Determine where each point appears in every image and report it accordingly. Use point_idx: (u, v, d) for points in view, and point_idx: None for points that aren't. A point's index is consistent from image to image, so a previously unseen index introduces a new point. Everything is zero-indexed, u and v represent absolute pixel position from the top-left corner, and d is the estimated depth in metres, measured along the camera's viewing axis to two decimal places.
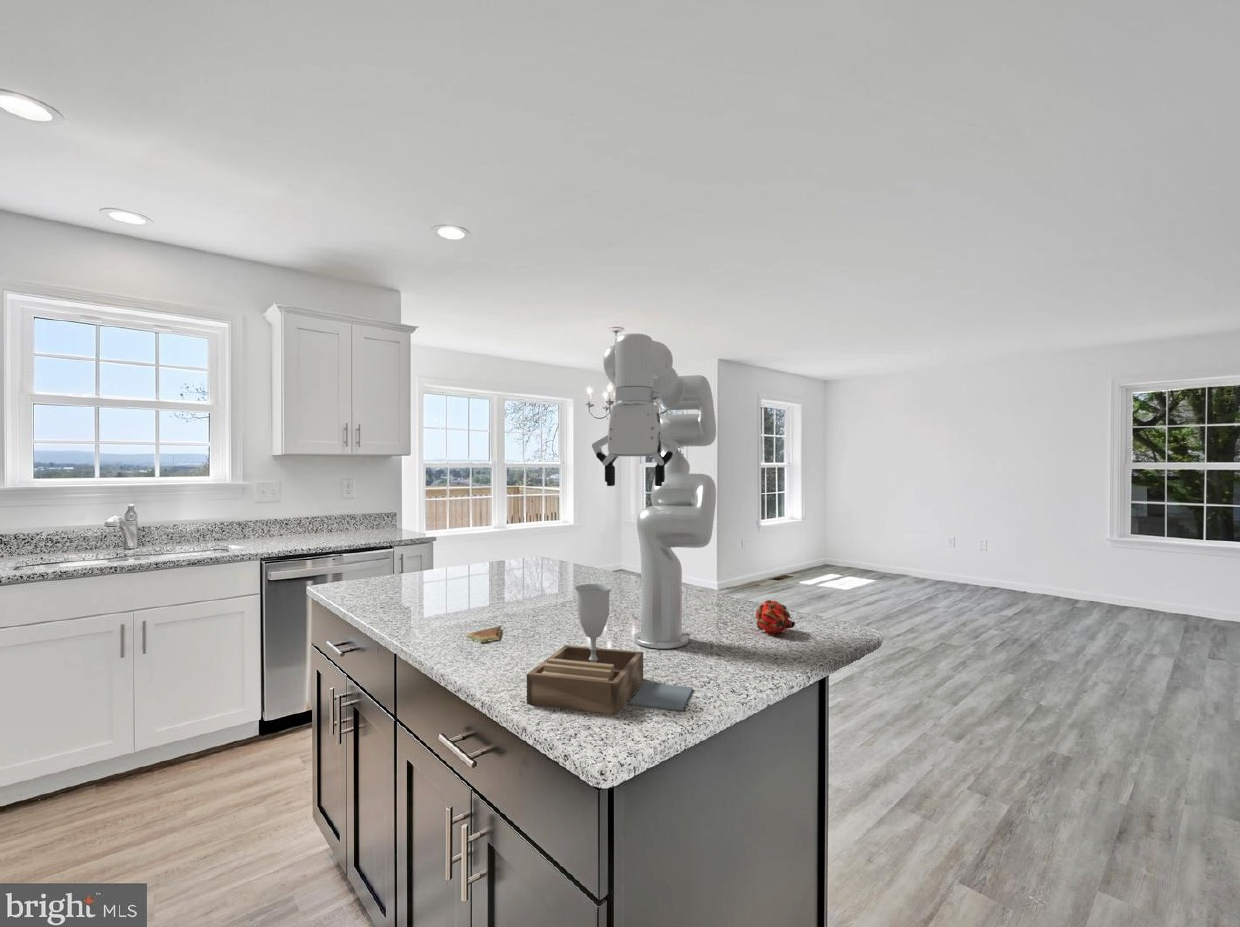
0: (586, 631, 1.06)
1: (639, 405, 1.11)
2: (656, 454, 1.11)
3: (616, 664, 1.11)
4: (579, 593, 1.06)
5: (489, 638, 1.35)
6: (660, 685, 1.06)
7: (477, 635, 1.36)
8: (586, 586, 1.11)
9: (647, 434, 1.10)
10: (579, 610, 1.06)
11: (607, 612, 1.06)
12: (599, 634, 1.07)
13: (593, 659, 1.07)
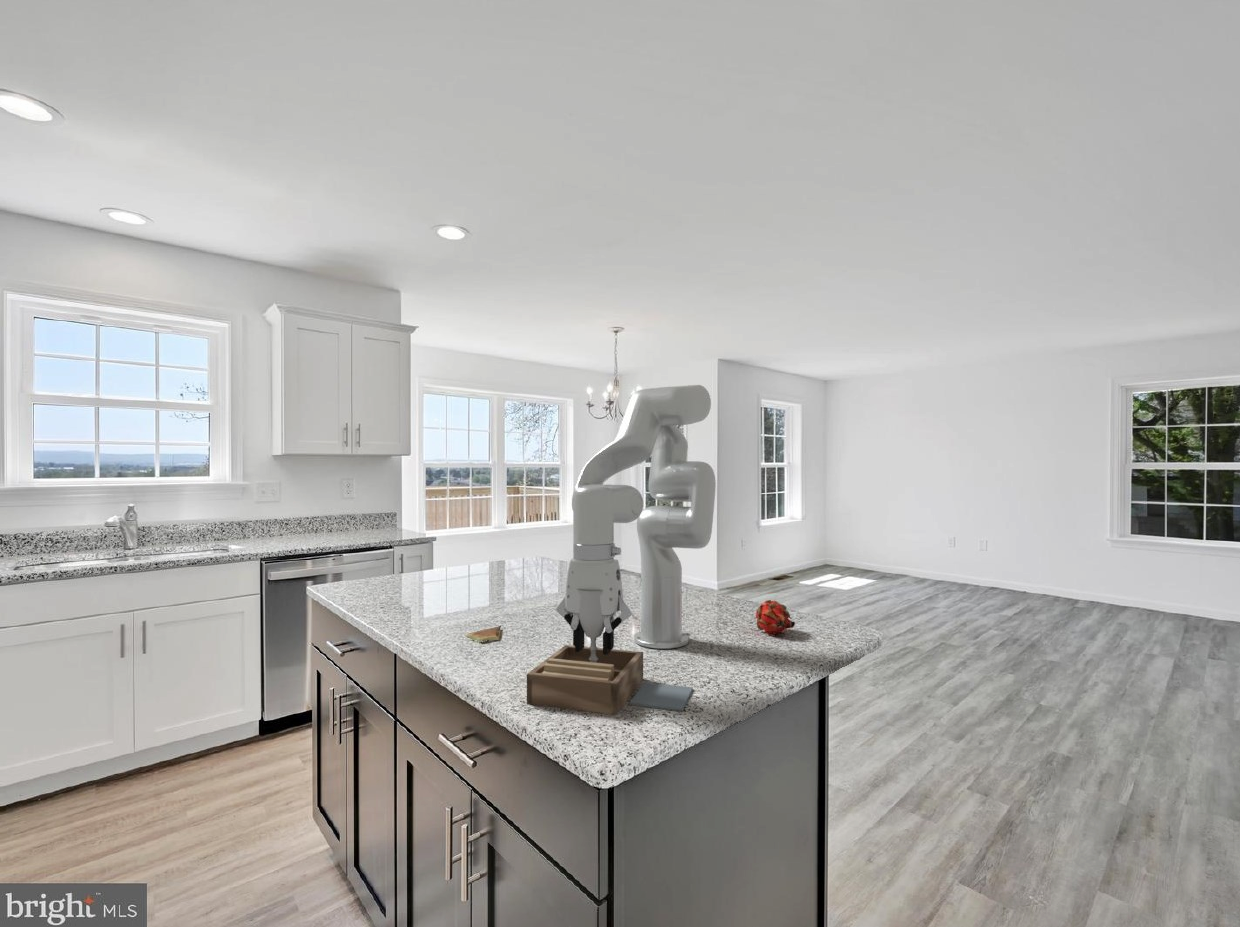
0: (586, 631, 1.06)
1: (597, 564, 1.05)
2: (608, 620, 1.05)
3: (616, 664, 1.11)
4: (579, 593, 1.06)
5: (489, 638, 1.35)
6: (660, 685, 1.06)
7: (477, 635, 1.36)
8: None
9: (605, 595, 1.05)
10: (579, 610, 1.06)
11: None
12: (599, 634, 1.07)
13: (593, 659, 1.07)
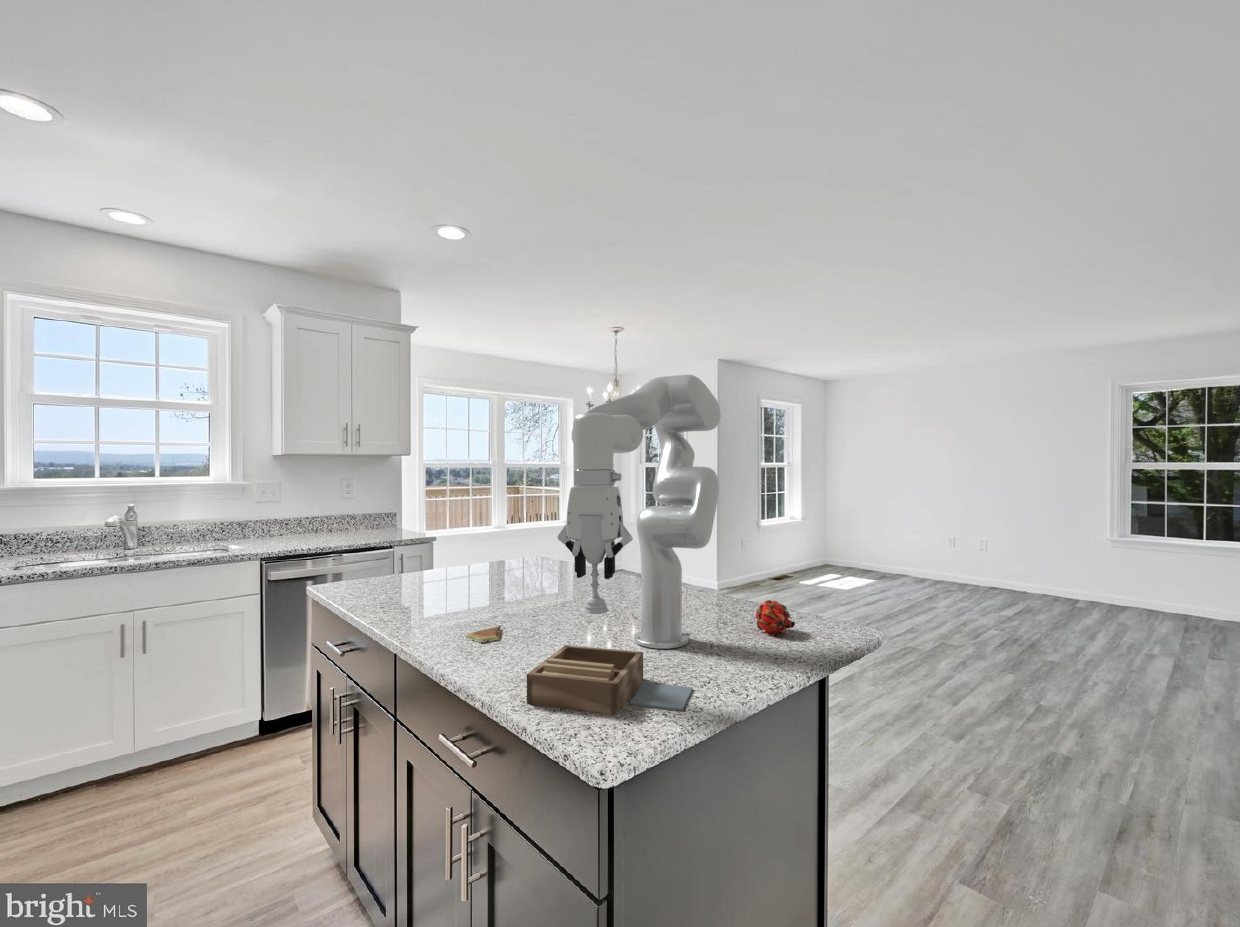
0: (587, 557, 1.07)
1: (598, 489, 1.06)
2: (609, 545, 1.06)
3: (616, 664, 1.11)
4: (580, 518, 1.06)
5: (489, 638, 1.35)
6: (660, 685, 1.06)
7: (477, 635, 1.36)
8: None
9: (606, 519, 1.05)
10: (580, 536, 1.07)
11: None
12: (600, 560, 1.07)
13: (595, 585, 1.08)
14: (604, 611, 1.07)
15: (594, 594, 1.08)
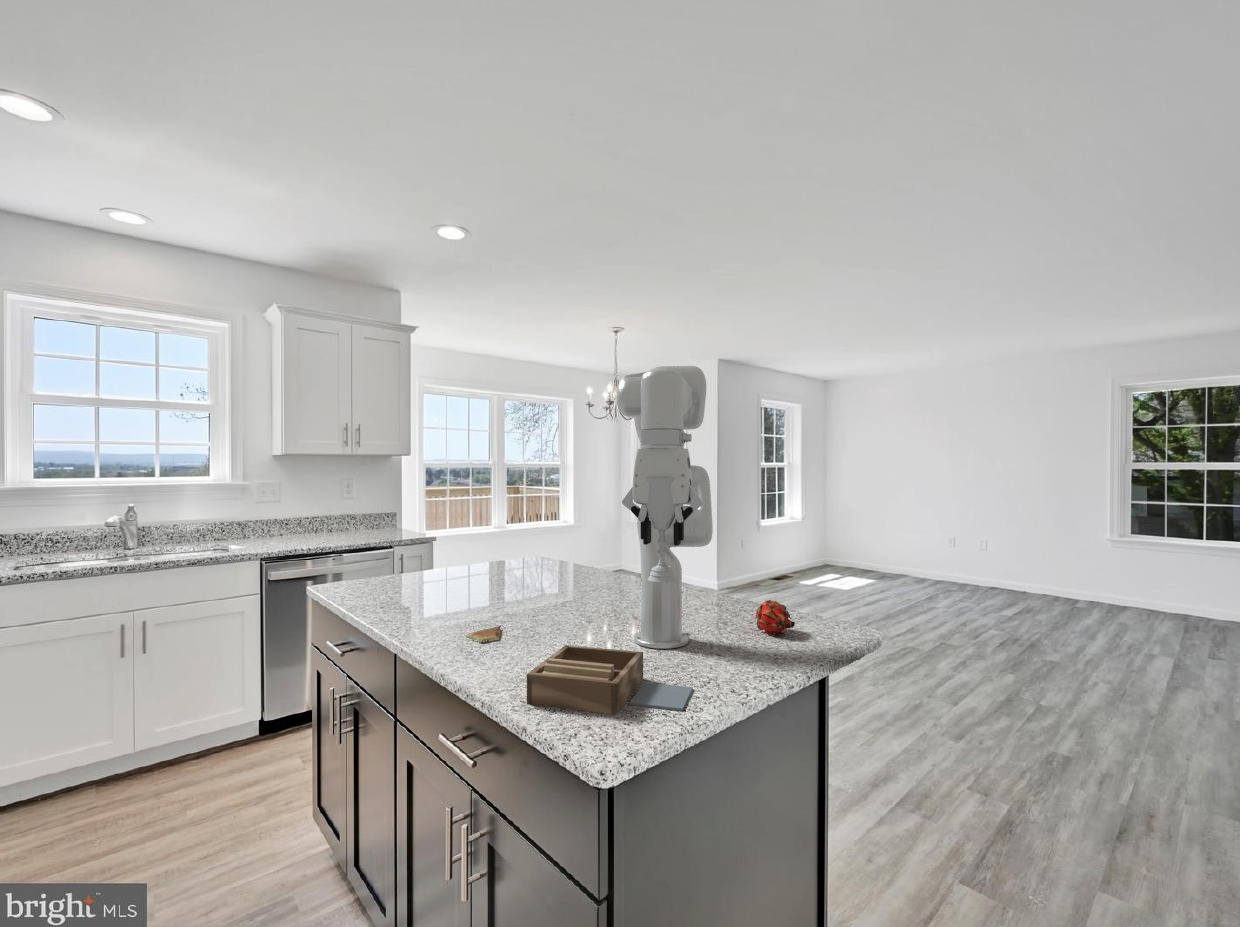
0: (655, 522, 1.01)
1: (668, 449, 1.00)
2: (679, 509, 1.00)
3: (616, 664, 1.11)
4: (649, 481, 1.00)
5: (489, 638, 1.35)
6: (660, 685, 1.06)
7: (477, 635, 1.36)
8: None
9: (677, 482, 0.99)
10: (648, 500, 1.01)
11: None
12: (669, 525, 1.01)
13: (662, 552, 1.01)
14: (672, 579, 1.01)
15: (661, 562, 1.02)
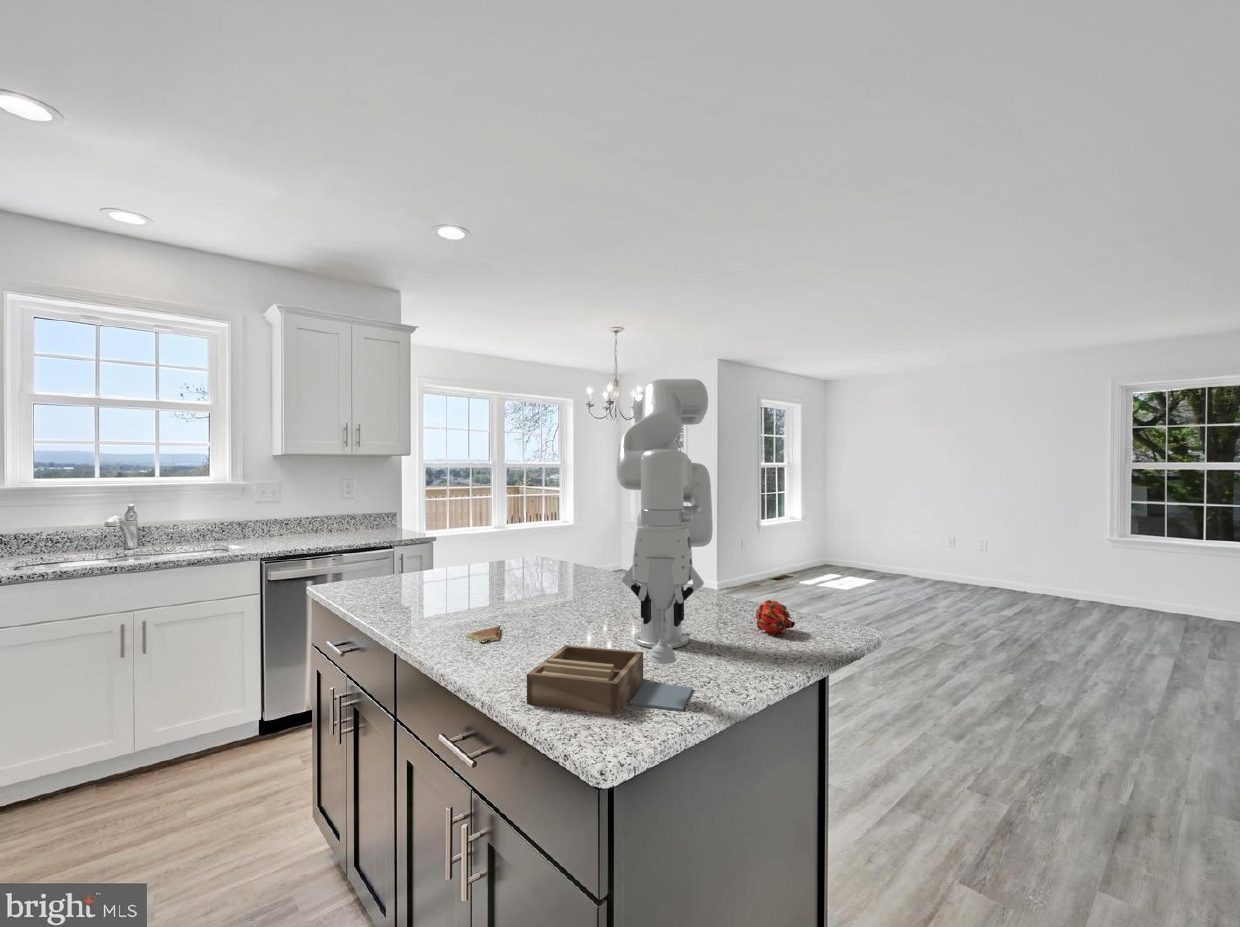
0: (655, 602, 1.00)
1: (668, 530, 0.99)
2: (679, 589, 1.00)
3: (616, 664, 1.11)
4: (649, 561, 1.00)
5: (488, 638, 1.35)
6: (660, 685, 1.06)
7: (477, 635, 1.36)
8: None
9: (677, 563, 0.99)
10: (648, 579, 1.01)
11: None
12: (669, 605, 1.01)
13: (662, 632, 1.01)
14: (673, 660, 1.00)
15: (661, 642, 1.01)
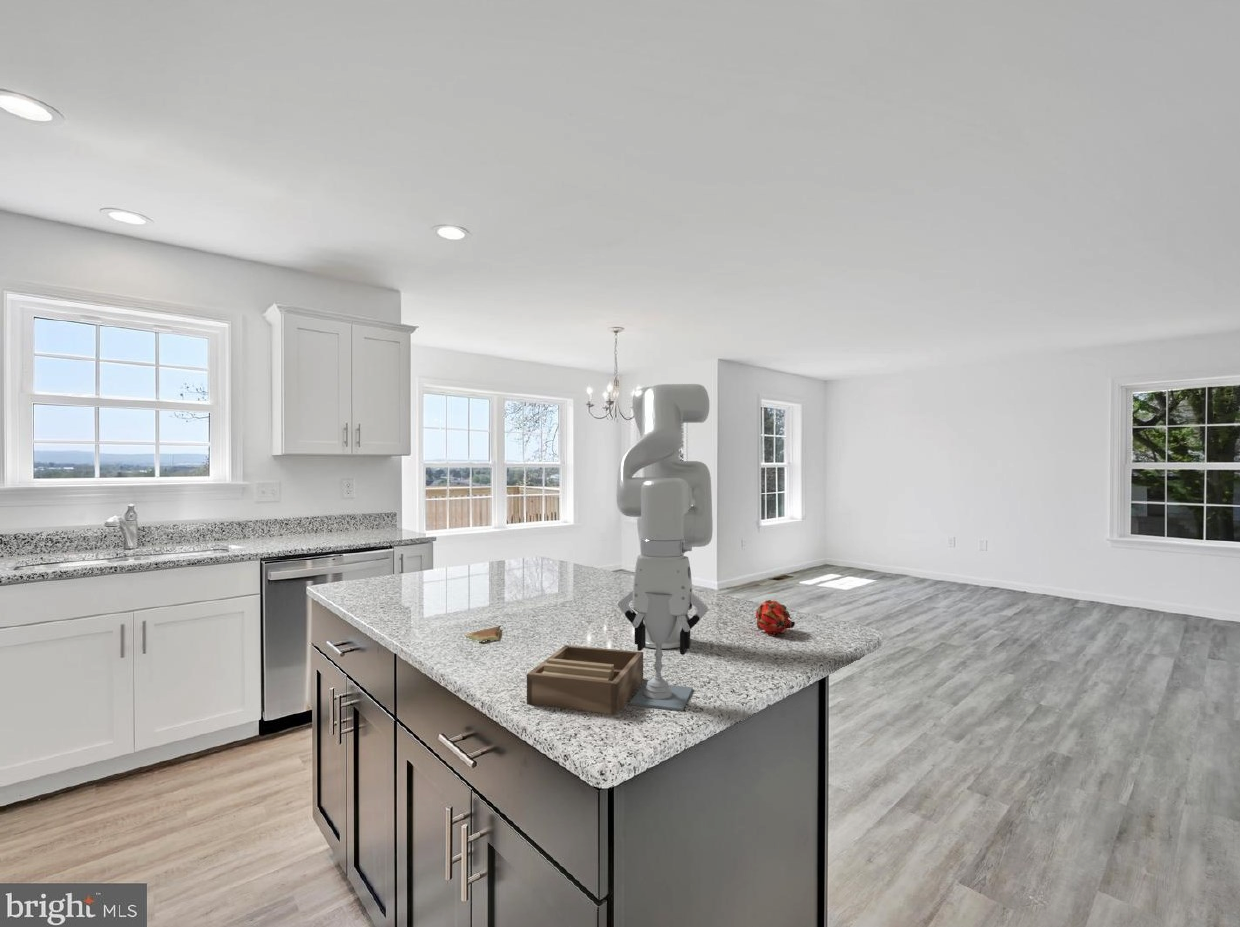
0: (653, 636, 1.01)
1: (668, 561, 0.99)
2: (683, 618, 1.00)
3: (616, 664, 1.11)
4: (647, 596, 1.00)
5: (488, 638, 1.35)
6: None
7: (476, 635, 1.36)
8: None
9: (677, 593, 0.99)
10: (646, 614, 1.01)
11: (675, 617, 1.01)
12: (666, 640, 1.01)
13: (658, 666, 1.01)
14: (668, 695, 1.01)
15: (657, 676, 1.02)
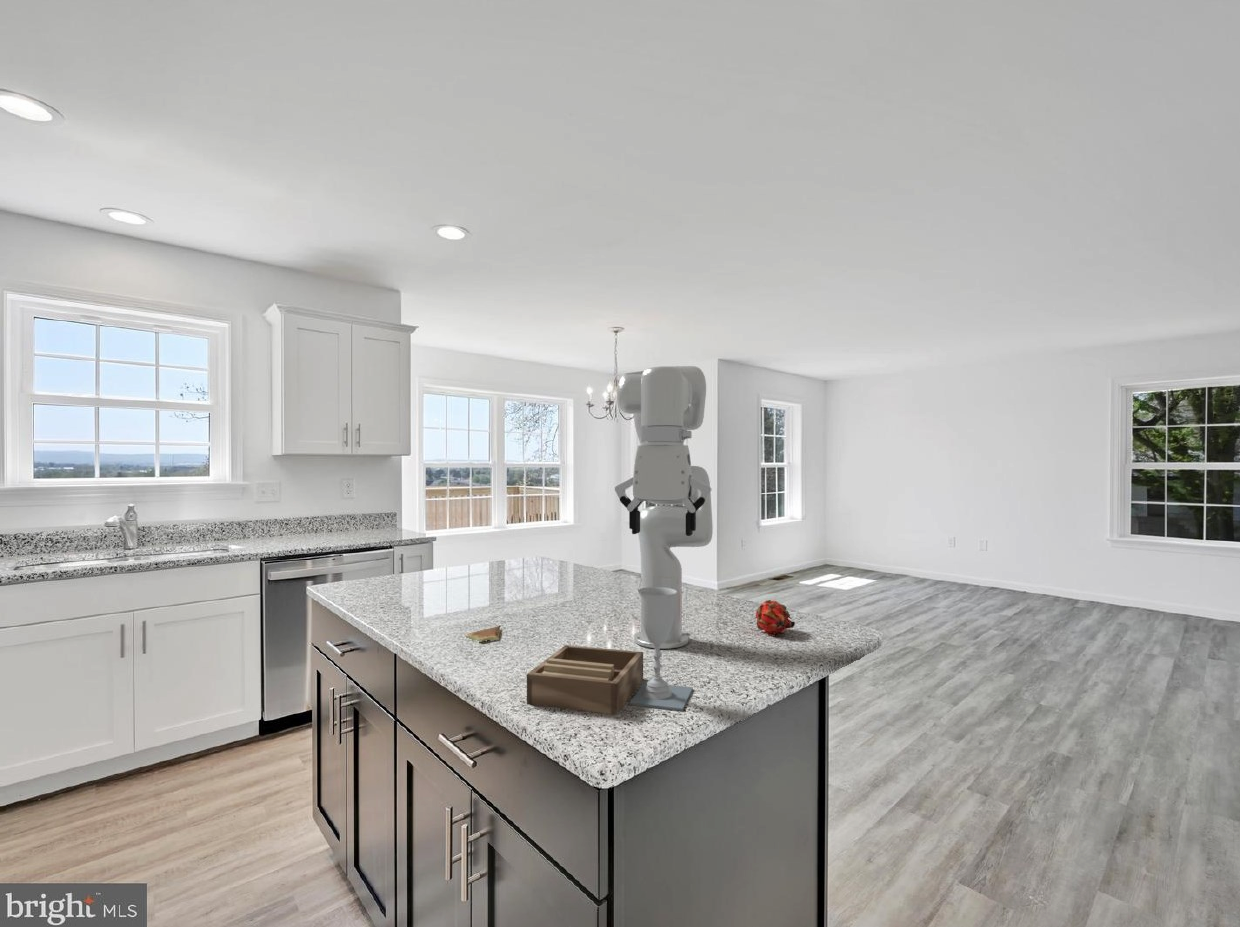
0: (650, 637, 1.01)
1: (668, 446, 1.00)
2: (687, 500, 1.00)
3: (616, 664, 1.11)
4: (644, 597, 1.00)
5: (488, 638, 1.35)
6: None
7: (476, 635, 1.36)
8: (647, 589, 1.06)
9: (677, 478, 1.00)
10: (643, 615, 1.01)
11: (672, 617, 1.01)
12: (664, 640, 1.01)
13: (657, 666, 1.01)
14: (668, 695, 1.01)
15: (657, 676, 1.02)
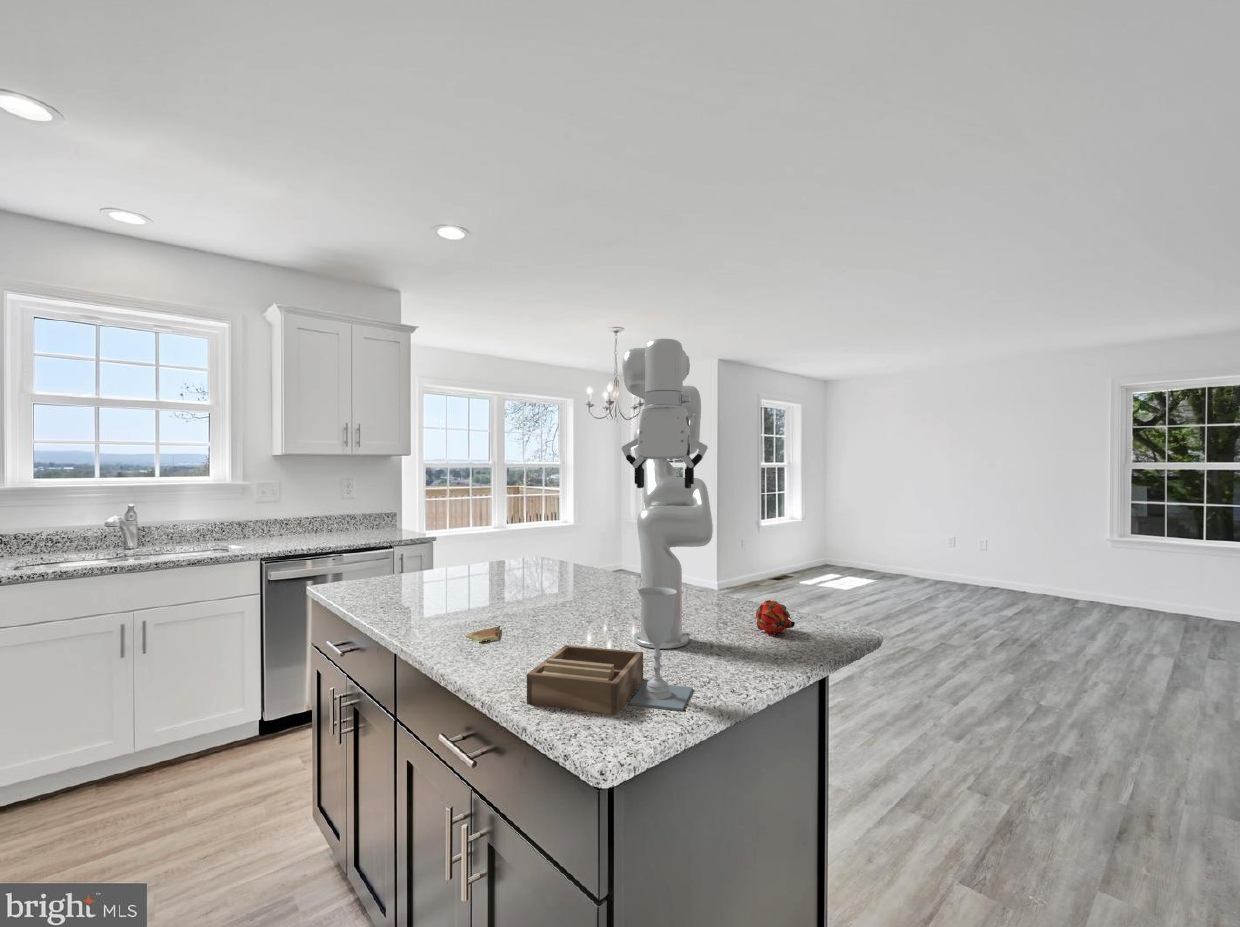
0: (650, 637, 1.01)
1: (669, 409, 1.13)
2: (686, 457, 1.13)
3: (616, 664, 1.11)
4: (644, 597, 1.00)
5: (488, 638, 1.35)
6: None
7: (476, 635, 1.36)
8: (647, 589, 1.06)
9: (677, 437, 1.13)
10: (643, 615, 1.01)
11: (672, 617, 1.01)
12: (664, 640, 1.01)
13: (657, 666, 1.01)
14: (668, 695, 1.01)
15: (657, 676, 1.02)
